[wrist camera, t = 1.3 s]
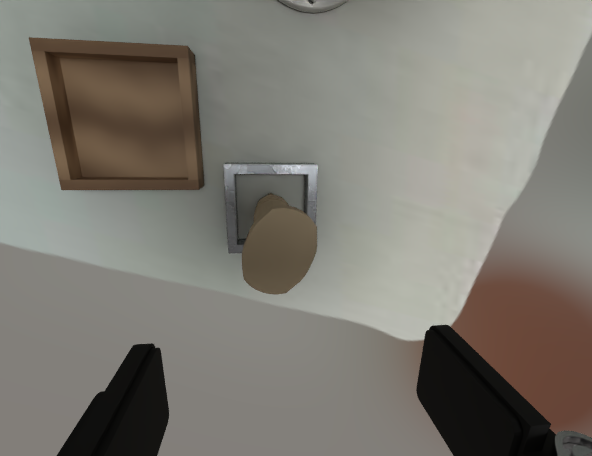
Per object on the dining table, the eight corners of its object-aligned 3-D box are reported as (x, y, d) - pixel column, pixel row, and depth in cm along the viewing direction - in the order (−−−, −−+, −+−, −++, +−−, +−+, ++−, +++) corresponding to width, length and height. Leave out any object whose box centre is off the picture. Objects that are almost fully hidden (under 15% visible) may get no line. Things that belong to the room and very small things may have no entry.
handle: (242, 223, 35) (230, 281, 20) (262, 173, 33) (264, 197, 19) (279, 237, 36) (293, 302, 21) (300, 189, 34) (330, 223, 20)
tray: (52, 48, 28) (28, 37, 25) (194, 55, 29) (187, 46, 26) (79, 185, 31) (61, 190, 28) (204, 185, 33) (199, 189, 30)
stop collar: (225, 162, 32) (223, 164, 31) (314, 163, 34) (317, 164, 32) (230, 247, 35) (228, 253, 33) (311, 245, 36) (314, 250, 35)
